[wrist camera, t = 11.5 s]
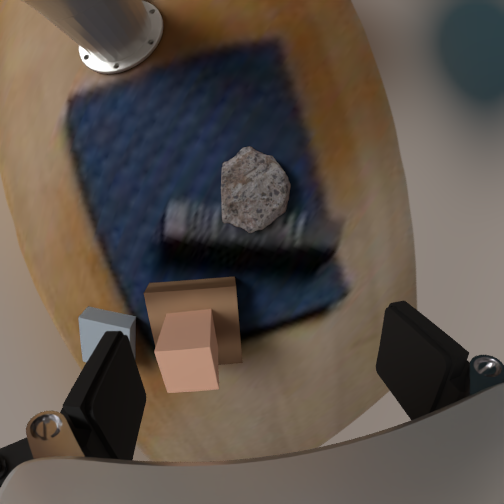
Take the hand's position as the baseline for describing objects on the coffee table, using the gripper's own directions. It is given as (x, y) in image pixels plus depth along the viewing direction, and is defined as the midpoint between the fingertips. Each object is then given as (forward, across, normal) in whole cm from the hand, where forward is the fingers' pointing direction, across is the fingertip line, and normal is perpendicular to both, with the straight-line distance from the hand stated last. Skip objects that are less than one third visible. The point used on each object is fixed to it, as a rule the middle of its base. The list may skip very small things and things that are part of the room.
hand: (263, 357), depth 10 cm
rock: (+31, -3, -3) cm, 31 cm away
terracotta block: (+27, +6, +14) cm, 31 cm away
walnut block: (+31, +6, +14) cm, 34 cm away
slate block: (+31, +20, +16) cm, 40 cm away
